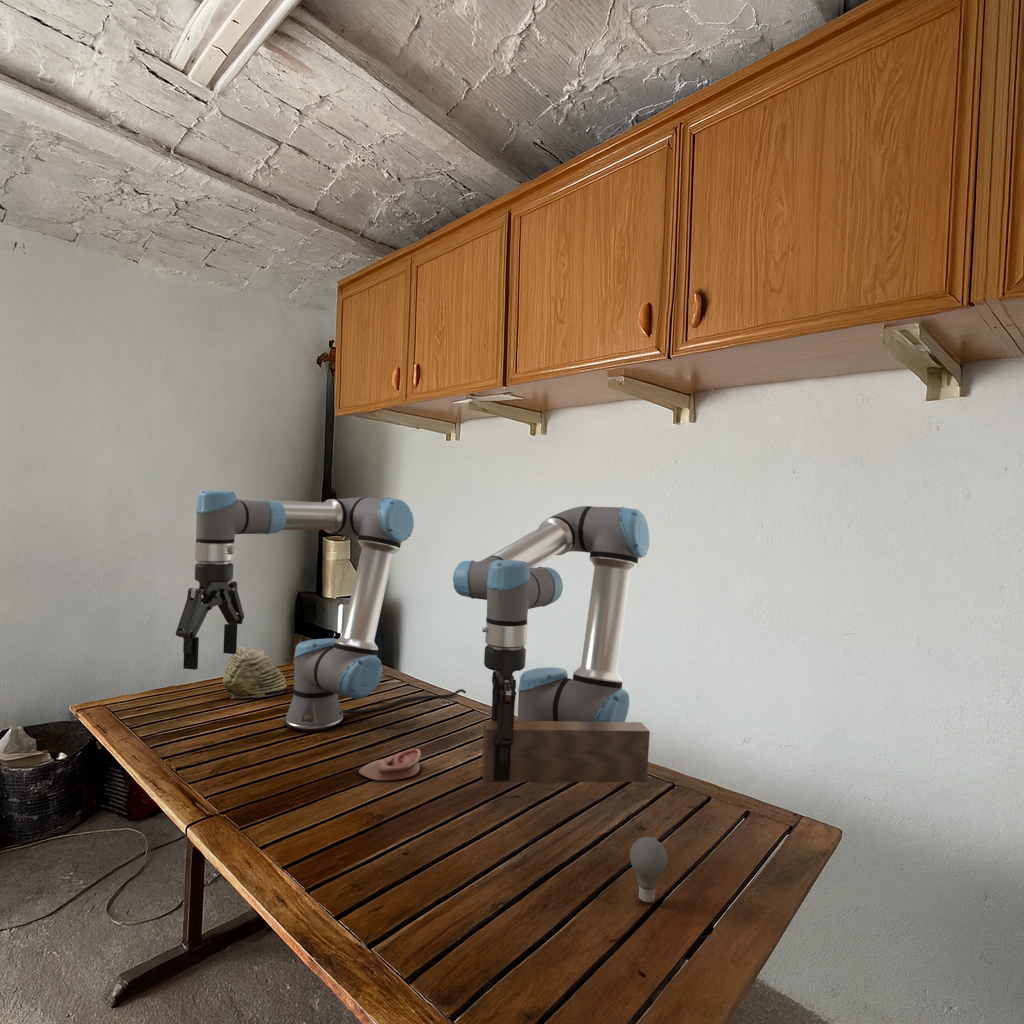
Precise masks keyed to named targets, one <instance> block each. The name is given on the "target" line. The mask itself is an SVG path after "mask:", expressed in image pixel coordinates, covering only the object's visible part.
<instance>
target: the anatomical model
mask: <svg viewBox="0 0 1024 1024" xmlns="http://www.w3.org/2000/svg"><path fill="white" fill-rule="evenodd" d="M421 756H422V754H421V750H420V749H419V748H412V749H408V750H404V751H402V752H398V753H396V754H393V755H391V756H388V757H384V758H382V759H377V760H373V761H371V762H369V763H367V764H365V765H363V766H362V767H361V768H360V769H359V770H358V773H359V774H360V775H361V776H363V777H366V778H368V779H371V780H373V781H379V782H380V781H381V782H382V781H397V780H403V779H407V778H410V777H413V776H415V775H417V774H418V773H419V771H420V768H421V766H420V763H419V762H420V760H421Z"/></svg>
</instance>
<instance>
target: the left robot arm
mask: <svg viewBox="0 0 1024 1024" xmlns="http://www.w3.org/2000/svg"><path fill="white" fill-rule="evenodd" d="M195 513H196V524H195V525H196V529H195V530H196V531H195V547H194V548H195V550H194V560H195V561H196V562H197V563H195V565H194V580H195V581H196V582H198V584H199V585H198V588H193V587H190V588H188V589H187V594H186V595H187V596H186V601H185V605H184V607H183V610H182V612H181V616H180V619H179V622H178V624H177V627H176V631H175V636H176V637H179V638H182V639H183V643H182V644H183V645H182V652H183V666H182V667H183V668H182V669H184V670H194V671H196V670H198V669H199V647H200V645H199V643H200V642H199V641H200V638H199V636H197V635H198V633H199V630H200V629H201V626H202V624H203V623H204V621H205V619H206V617H207V614H208V613H209V611H211V610H213V608H214V607H216V606H217V607H218V609H219V610H220V612H221V614H222V616H223V618H224V619H225V621H226V624H223V625H224V627H223V652H222V653H223V654H229V655H232V654H236V649H237V648H238V646H237V645H238V625H242V624H243V622H244V619H245V613H244V610H243V606H242V603H241V599H240V595H239V591H238V582H237V581H234V580H233V579H234V567H235V566H234V564H233V563H232V561H234V559H235V558H234V557H235V538H236V535H271V534H277V533H280V532H281V531H324V532H326V533H328V534H339V535H340V534H341V535H347V536H351V537H356V538H358V539H357V543H358V544H359V546H360V548H361V551H360V556H359V560H358V565H357V569H356V573H355V577H354V578H355V579H354V581H353V585H352V590H351V596H350V599H349V604H348V608H347V611H346V612H347V613H346V616H345V621H344V625H343V631H342V634H341V636H340V637H339V638H331V637H329V638H317V639H316V638H315V639H308V640H304V641H301V642H299V643H298V644H297V645H296V646H295V650H294V651H295V652H294V656H293V658H294V670H293V671H294V672H293V695H292V696H293V697H292V699H291V702H290V704H289V708H288V711H287V713H286V715H285V726H286V728H287V729H289V730H291V731H294V732H295V731H296V732H301V733H316V732H325V731H329V730H332V729H335V728H337V727H339V726H340V725H342V723H343V722H344V714H364V713H371V712H375V711H380V710H383V709H387V708H390V707H393V706H395V705H397V704H400V703H404V702H408V701H409V702H410V701H415V700H425V699H439V698H440V699H441V698H450V697H453V696H456V695H458V694H459V693H463V694H467V691H466V690H465V689H462V688H460V689H457V690H455V691H454V692H452V693H447V694H435V695H433V694H432V695H421V696H420V695H419V696H413V697H406V698H402V699H398V700H395V701H393V702H390V703H389V704H388V703H387V704H385V705H381V706H377V707H372V708H366V709H359V710H352V709H350V710H349V709H348V710H347V709H346V710H343V709H342V706H341V702H340V699H339V695H340V696H342V697H344V698H349V699H355V700H359V699H365V698H367V697H368V696H369V695H371V693H372V692H374V691H375V690H376V688H378V686H379V685H380V682H381V680H382V677H383V673H384V672H383V671H384V668H383V667H384V666H383V664H382V661H381V659H379V657H378V652H379V647H378V645H377V644H376V642H375V638H376V635H377V630H378V625H379V621H380V617H381V616H380V615H381V612H382V607H383V602H384V599H385V593H386V589H387V585H388V584H387V583H388V579H389V574H390V570H391V565H392V561H393V556H394V555H395V554H396V553H397V552H399V551H400V550H401V546H402V542H405V541H406V540H408V539H409V537H411V535H412V533H413V531H414V527H415V520H414V515H413V512H412V511H411V507H410V506H409V505H408V504H407V503H406V502H405V501H404V500H402V499H397V498H393V497H392V498H391V497H370V496H357V497H356V496H355V497H348V498H329V499H326V500H325V501H299V500H297V501H295V500H266V499H239V498H238V499H237V493H236V492H235V491H228V490H201V491H200V492H199V493H198V496H197V502H196V509H195Z"/></svg>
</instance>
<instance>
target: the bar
mask: <svg viewBox="0 0 1024 1024" xmlns="http://www.w3.org/2000/svg"><path fill="white" fill-rule="evenodd" d="M650 734H651V731H650V730H649V728H647V726H645V725H644V724H643V722H639V721H638V722H637V721H625V722H568V721H518V720H514V729H513V745H512V746H511V753H510V775H509V781H494V761H495V745H493V741H496V740H497V721H491V720H484V721H483V737H482V753H481V767H480V768H481V775H482V780H483V783H647V780H648V765H649V752H650V751H649V750H650Z"/></svg>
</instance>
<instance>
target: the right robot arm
mask: <svg viewBox="0 0 1024 1024" xmlns="http://www.w3.org/2000/svg"><path fill="white" fill-rule="evenodd" d="M649 547H650V530H649V525H648V522H647V519H646V516H645V515H644V514H643V512H642V511H641V510H639V509H637V508H630V507H624V506H620V507H618V506H617V507H616V506H590V505H582V506H576V507H572V508H568V509H566V510H563V511H561V512H557V513H556V514H554V515H552V516H549V517H547V518H546V519H544V520H543V521H542V522H541V523H540V524H539V527H538V528H537V529H535V530H533V531H531V532H529V533H528V534H526V535H524V536H522V537H521V538H519V539H517V540H516V541H514V542H512V543H510V544H509V545H507V546H505V547H503V548H501V549H500V550H498V551H496V552H494V553H492V554H491V555H489V556H487V557H485V558H483V559H481V560H478V561H475V560H472V559H471V560H463V561H461V562H459V563H458V564H457V566H456V567H455V569H454V571H453V575H452V582H453V583H452V585H453V589H454V591H455V593H456V594H458V595H460V596H461V597H462V596H463V597H466V598H470V599H472V600H474V599H476V600H484V601H486V617H485V625H486V626H483V627H482V630H481V631H482V633H485V639H484V641H485V643H486V646H485V647H484V655H483V665H484V667H485V668H486V669H488V670H491V671H492V675H491V683H492V684H491V685H492V692H491V693H492V698H491V699H492V700H491V718H490V721H497V740H496V741H493V745H495V761H494V781H509V775H510V753H511V746H512V745H513V729H514V721H515V708H516V707H515V705H516V696H517V691H518V700H517V701H518V703H517V721H568V722H626V719H627V717H628V714H629V710H630V694H629V692H628V691H627V690H625V688H623V683H624V682H623V679H622V677H621V676H620V675H619V672H618V669H619V662H620V661H619V660H620V653H621V648H622V647H621V646H622V640H623V639H622V637H623V630H624V624H625V623H624V622H625V615H626V606H627V600H628V598H627V597H628V592H629V583H630V575H631V572H632V571H633V570H634V569H635V568H636V567H637V566H638V565H639V563H638V562H639V559H642V558H645V557H646V555H647V554H648V551H649V549H650V548H649ZM571 552H577V553H578V552H579V553H588V554H589V559H588V560H589V561H590V562H591V564H592V565H593V567H594V569H593V576H592V581H591V589H590V598H589V606H588V611H587V620H586V626H585V633H584V640H583V648H582V655H581V656H582V657H581V663H580V666H579V667H578V668H577V669H576V670H574V671H573V673H572V678H570V677H569V674H568V671H567V669H564V668H562V667H552V666H551V667H539V668H537V667H536V668H532V669H528V670H526V671H524V672H523V673H521V675H520V677H519V684H518V689H517V679H515V676H514V675H513V673H514V672H519V671H522V670H524V669H525V667H526V660H527V659H526V657H527V649H526V648H525V646H526V645H527V643H528V641H527V639H528V615H529V614H528V613H529V612H528V611H529V610H531V609H535V608H540V607H547V606H550V605H551V604H553V603H555V602H557V601H558V600H559V599H560V598H561V596H562V594H563V589H564V584H563V579H562V577H561V575H560V574H559V572H558V571H557V570H555V568H551V567H547V566H544V567H543V566H541V565H542V564H544V563H545V562H547V561H549V560H550V559H552V558H553V557H555V556H563V555H565V554H566V553H571ZM516 689H517V691H516Z"/></svg>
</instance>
